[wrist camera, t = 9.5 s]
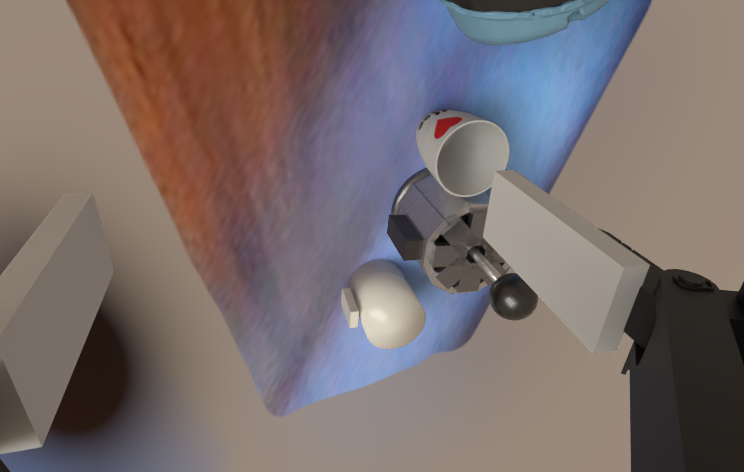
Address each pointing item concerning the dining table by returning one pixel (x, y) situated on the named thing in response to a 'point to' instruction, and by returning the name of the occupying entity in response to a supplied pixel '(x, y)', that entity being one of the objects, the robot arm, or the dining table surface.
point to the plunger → (504, 287)
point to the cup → (462, 150)
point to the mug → (383, 305)
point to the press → (442, 233)
